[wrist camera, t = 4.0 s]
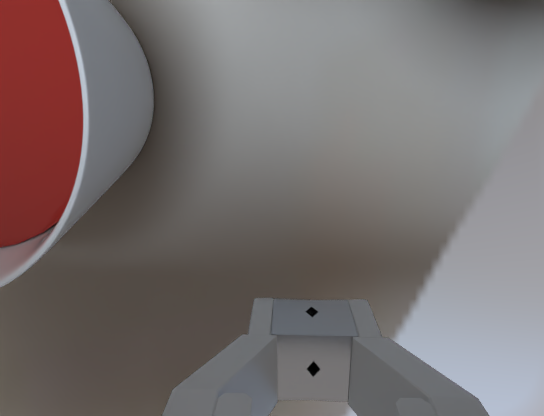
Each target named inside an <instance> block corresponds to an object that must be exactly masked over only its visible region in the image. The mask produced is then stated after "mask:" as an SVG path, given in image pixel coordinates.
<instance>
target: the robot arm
mask: <svg viewBox="0 0 544 416" xmlns="http://www.w3.org/2000/svg"><path fill="white" fill-rule="evenodd" d="M312 399H313V400H320V401H337V402H348V404H349V406H350V407H351V408H352V409H353V411H354V412H355V413H356V414H357V416H489V415H488V413H487V412H486V410H485V408H484V407H483V405H482V404H481V402H480V401H479V399H478V398H476V397H475V396H473V395H472V394H471V393H469V392H468V391H466V390H465V389H463V388H462V387H460V386H459V385H457V384H456V383H454V382H453V381H451V380H450V379H448V378H447V377H445V376H444V375H442V374H441V373H440V372H438V371H436V370H435V369H434V368H432V367H431V366H429V365H428V364H426V363H425V362H423V361H422V360H420V359H419V358H418V357H416V356H415V355H413V354H412V353H410V352H409V351H407V350H406V349H404V348H403V347H401V346H400V345H398V344H397V343H396V342H394V341H393V340H391V339H390V338H385V337H382V335H381V332H380V330H379V327H378V325H377V322H376V320H375V317H374V315H373V313H372V310H371V308H370V305H369V303H368V301H367V300H366V299H355V300H310V299H283V298H274V299H273V298H255V299H254V302H253V308H252V313H251V319H250V325H249V330H248V335H245V334H243V335H241V336H240V337H238V338H237V339H236V340H235V341H233V342H232V343H231V344H230V345H228V346H227V347H226V348H225V349H223V350H222V351H221V352H219V353H218V354H217V355H216V356H214V357H213V358H212V359H211V360H209V361H208V362H207V363H205V364H204V365H203V366H202V367H200V368H199V369H198V370H197V371H195V372H194V373H193V374H192V375H190V376H189V377H188V378H186V379H185V380H184V381H183V382H181V383H180V384H179V385H178V386H176V387H175V388H174V389H173V390H172V392H171V395H170V397H169V400H168V402H167V405H166V407H165V410H164V412H163V414H162V416H268V415H269V414H270V412H271V411H272V409H273V408H274V407H275V405H276V404H277V402H278V400H312Z"/></svg>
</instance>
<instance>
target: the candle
mask: <svg viewBox="0 0 544 416" xmlns="http://www.w3.org/2000/svg"><path fill="white" fill-rule="evenodd" d="M153 110H154V92H153V83H152V78H151V73H150V69H149V66H148V62H147V60H146V57H145V54H144V52H143V50H142V48H141V45H140V43H139V41H138V40H137V38H136V36H135V34H134V33H133V31H132V29H131V28H130V26H129V25H128V24H127V22H126V21H125V20H124V18H123V17H122V16H121V14H120V13H119V12H118V11H117V9H116V8H115V7H114V6H113V5H112V4H111V2H110V1H109V0H0V288H1V287H3V286H5V285H6V284H8V283H10V282H11V281H13V280H14V279H16V278H17V277H19V276H20V275H22V274H23V273H24V272H26V271H27V270H28V269H30V268H31V267H32V266H33V265H34V264H35V263H36V262H38V261H39V260H40V259H41V258H42V257H43V256H44V255H45V254H46V253H47V252H48V251H49V250H50V249H51V248H52V247H53V246H54V245H55V244H56V243H57V242H58V241H59V240H60V239H61V238H62V237H63V236H64V235H65V234H66V232H67V231H68V230H69V229H70V228H71V227H72V226H73V225H74V224H75V223H76V222H77V221H78V220H79V219H80V218H81V217H82V216H83V215H84V214H85V213H86V212H87V211H88V210H89V209H90V208H91V207H92V206H93V205H94V204H95V203H96V202H97V201H98V199H99V198H100V197H101V196H102V195H103V194H104V193H105V192H106V191H107V190H108V189H109V188H110V187H111V186H112V185H113V184H114V183H115V182H116V181H117V180H118V179H119V178H120V177H121V175H122V174H123V173H124V172H125V171H126V170H127V169H128V168H129V167H130V165H131V164H132V163H133V162H134V160H135V159H136V158H137V156H138V155H139V153H140V151H141V150H142V148H143V146H144V144H145V142H146V139H147V137H148V134H149V131H150V127H151V123H152V118H153Z"/></svg>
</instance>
